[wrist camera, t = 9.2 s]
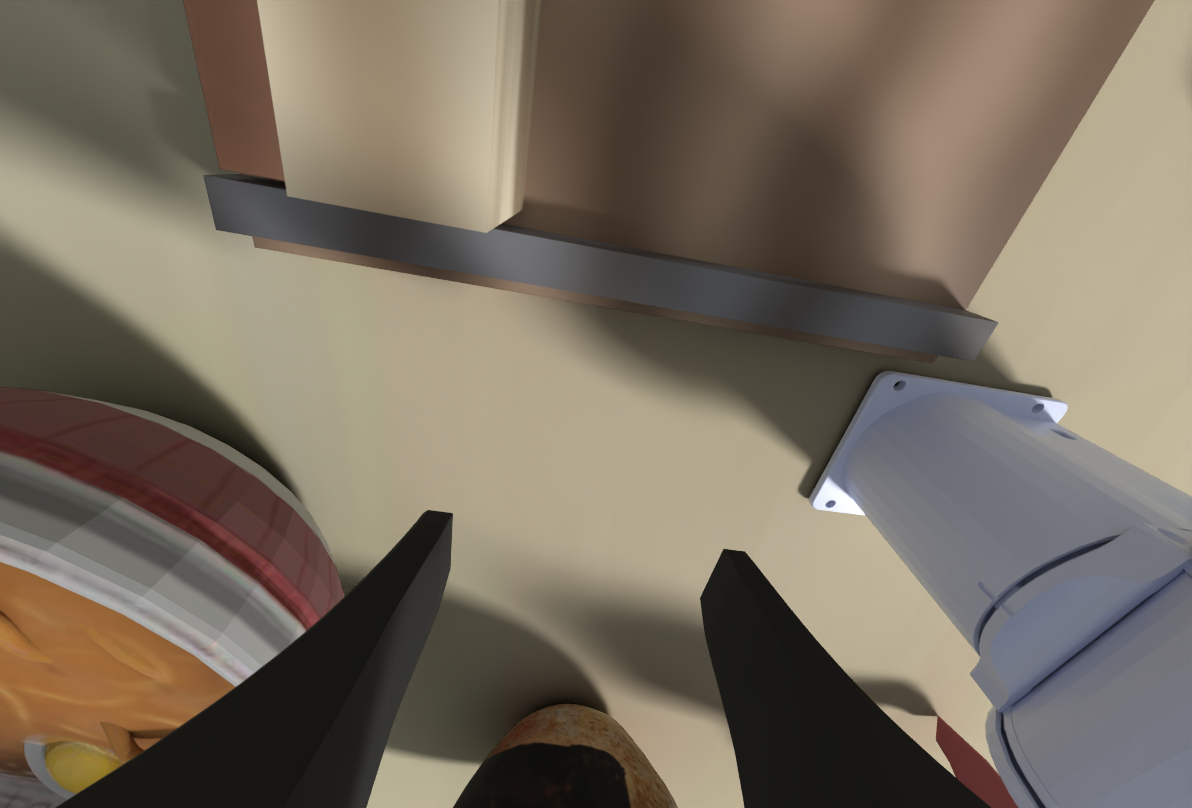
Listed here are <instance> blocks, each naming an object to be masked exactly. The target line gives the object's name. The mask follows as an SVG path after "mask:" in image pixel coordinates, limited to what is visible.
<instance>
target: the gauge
mask: <svg viewBox="0 0 1192 808" xmlns="http://www.w3.org/2000/svg"><path fill="white" fill-rule="evenodd" d="M541 2H542V0H257V4H258V10H259V17H260V23H261V30H262V36H263V43H264V49H265V55H266V62H267V68H268V75H269V81H270V88H271V94H272V101H273V107H274V114H275V120H276V127H277V133H278V140H279V146H280V152H281V159H282V165H283V172H284V178H285V185H286V191H287V196H289V197H294V198H300V199H305V200H311V201H316V202H321V203H327V204H332V205H338V206H343V207H349V208H354V209H359V210H365V211H370V212H376V213H381V214H387V215H392V216H397V217H403V218H408V219H414V220H419V221H425V222H430V223H435V224H441V225H446V226H452V227H457V228H463V229H468V230H473V231H479V232H484V233H487V232H489V231H490V230H492V229H494V228H495V227H497V226H498V225H500V224H501V223H503V222H504V221H506V220H507V219H509V218H511V217H512V216H514V215H515V214H517V213H518V212H520V211H521V210H523V207H524V196H525V184H526V173H527V161H528V150H529V139H530V127H531V116H532V105H533V93H534V82H535V70H536V59H537V48H538V36H539V25H540V14H541Z"/></svg>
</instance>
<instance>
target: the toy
mask: <svg viewBox="0 0 1192 808" xmlns="http://www.w3.org/2000/svg"><path fill="white" fill-rule="evenodd" d="M936 741H937V743H938V744H939V746H940V748H941V749H942V751H943V753H944V754H945V756H946V757H947V759H948V761H949V762H950V764H951V767H952V769H953V772H954V774H955V776H956V778H957V779H958V780H959V781H960V782H961V783H963V784H964V785H965V786H966V787H967V788H969V789H970V790H971V791H972V792H973V793H975V794H976V795H977V796H978V797H979V798H981V799H982V800H983V801H984V802H985V803H987V804H988V805H989V806H990V807H991V808H1018V806H1017V805H1016V803H1015V802H1014V800H1013V799H1012V797H1011V795H1010V794H1009V792H1008V790H1007V788H1006V786H1005V785H1004V783H1003V781H1002V779H1001V777H1000V776H999V774H998V773H997V772H996V771H995V770H994V769H993V767H992V766H991V765H990V764H989V763H988V762H987V760H986V759H984V758H983V757H982V756H981V755H980V754H979V753H978V752H977V751H976V750H975V749H974V748H973V747H971V746H970V745H969V744H968V743H967V742H966V741H965V740H964V739H963V738H962V737H961V736H960V735H958V734H957V733H956V732H955V731H954V730H953V729H952V728H951V727H950V726H949V725H948V724H947V723H946V722H944V721H943V720H942V719H941V718H940V717H939V716H938V719H937V732H936Z"/></svg>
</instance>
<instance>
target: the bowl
mask: <svg viewBox="0 0 1192 808" xmlns="http://www.w3.org/2000/svg"><path fill="white" fill-rule="evenodd" d="M343 598H344V592H343V589H342V585H341V582H340V578H339V575H338V571H337V568H336V565H335V563H334V560H333V558H332V555H331V553H330V550H329V547H328V545H327V542H326V540H325V538H324V536H323V535H322V533H321V531H320V529H319V528H318V526H317V524H316V522H315V521H314V519H313V517H312V516H311V515H310V513H309V512H308V511H307V510H306V509H305V507H304V506H303V505H302V504H301V503H300V502H299V500H298V499H297V498H296V497H295V496H294V495H293V493H292V492H291V491H290V490H288V489H287V488H286V487H285V486H284V485H283V484H281V483H280V482H279V481H278V480H277V479H276V478H274V477H273V476H272V475H271V474H270V473H269V472H267V471H266V470H265V469H264V468H263V467H261V466H260V465H258V464H257V463H255V462H253V461H252V460H250V459H249V458H247V457H246V456H244V455H243V454H241V453H240V452H238V451H237V450H235V449H234V448H232V447H231V446H229V445H227V444H225V443H223V442H221V441H219V440H217V439H215V438H213V437H211V436H209V435H207V434H205V433H203V432H201V431H199V430H196V429H194V428H192V427H190V426H188V425H185V424H182V423H180V422H177V421H174V420H171V419H168V418H165V417H162V416H160V415H157V414H154V413H151V412H148V411H145V410H141V409H136V408H132V407H127V406H122V405H118V404H113V403H108V402H104V401H99V400H93V399H87V398H82V397H76V396H70V395H65V394H59V393H53V392H48V391H42V390H36V389H22V388H8V387H0V808H55V807H57V806H58V805H60V804H61V803H63V802H64V801H66V800H68V799H69V798H71V797H72V796H74V795H76V794H77V793H79V792H80V791H82V790H84V789H85V788H87V787H88V786H90V785H91V784H93V783H95V782H96V781H98V780H99V779H101V778H103V777H104V776H106V775H107V774H109V773H111V772H112V771H114V770H115V769H117V768H118V767H120V766H122V765H123V764H125V763H126V762H128V761H129V760H131V759H133V758H134V757H136V756H137V755H139V754H140V753H142V752H143V751H145V750H146V749H148V748H149V747H151V746H152V745H154V744H155V743H157V742H158V741H159V740H161V739H162V738H164V737H165V736H167V735H168V734H170V733H171V732H172V731H174V730H175V729H177V728H178V727H180V726H181V725H183V724H184V723H185V722H187V721H188V720H190V719H191V718H193V717H194V716H196V715H197V714H198V713H200V712H201V711H203V710H204V709H206V708H207V707H209V706H210V705H212V704H213V703H214V702H216V701H217V700H219V699H220V698H221V697H223V696H224V695H225V694H227V693H228V692H229V691H231V690H232V689H234V688H235V687H236V686H238V685H239V684H240V683H242V682H243V681H244V680H246V679H247V678H248V677H249V676H251V675H252V674H253V673H255V672H256V671H257V670H258V669H260V668H261V667H262V666H264V665H265V664H266V663H268V662H269V661H270V660H271V659H273V658H274V657H275V656H277V655H278V654H279V653H280V652H282V651H283V650H284V649H285V648H286V647H288V646H289V645H290V644H291V643H293V642H294V641H295V640H296V639H297V638H299V637H300V636H301V635H302V634H303V633H305V632H306V631H307V630H308V629H309V628H310V627H312V626H313V625H314V624H315V623H316V622H317V621H318V620H320V619H321V618H322V617H323V616H324V615H325V614H326V613H328V612H329V611H330V610H331V609H332V608H333V607H334V606H335V605H336V604H337V603H338V602H339V601H340V600H342V599H343Z"/></svg>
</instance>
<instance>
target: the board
mask: <svg viewBox="0 0 1192 808" xmlns="http://www.w3.org/2000/svg"><path fill="white" fill-rule="evenodd" d="M183 2H184V7H185V11H186V16H187V20H188V25H189V30H190V34H191V39H192V43H193V48H194V53H195V57H196V62H197V66H198V71H199V76H200V80H201V85H202V89H203V94H204V99H205V103H206V108H207V112H208V117H209V122H210V126H211V131H212V135H213V140H214V145H215V149H216V154H217V158H218V163H219V168H220V169H224V170H229V171H234V172H240V174H233V175H203V176H204V180H205V184H206V189H207V193H208V197H209V201H210V206H211V210H212V214H213V218H214V223H215V227H216V230H220V231H226V232H232V233H238V234H243V235H249V236H253V241H254V246H255V247H256V248H262V249H268V250H274V251H280V252H285V253H291V254H297V255H303V256H309V257H315V258H320V259H326V260H332V261H338V262H344V263H350V264H356V265H361V266H367V267H373V268H379V269H385V270H391V271H396V272H402V273H408V274H414V275H420V276H426V277H431V278H437V279H443V280H449V281H455V282H461V283H466V284H472V285H478V286H484V287H490V288H496V289H501V290H507V291H513V292H519V293H525V294H531V295H537V296H542V297H548V298H554V299H560V300H566V301H572V302H577V303H583V304H589V305H595V306H601V307H607V308H612V309H618V310H624V311H630V312H636V313H642V314H647V315H653V316H659V317H665V318H671V319H677V320H682V321H688V322H694V323H700V324H706V325H712V326H718V327H723V328H729V329H735V330H741V331H747V332H753V333H758V334H764V335H770V336H776V337H782V338H788V339H793V340H799V341H805V342H811V343H817V344H823V345H828V346H834V347H840V348H846V349H852V350H858V351H863V352H869V353H875V354H881V355H887V356H893V357H899V358H904V359H910V360H916V361H922V362H928V363H934V361H935V359H936V358H937V356H938V355H940V356H946V357H951V358H957V359H963V360H969V361H974V359H975V358H976V356H977V355H978V353H979V352H980V350H981V349H982V347H983V346H984V344H985V343H986V341H987V340H988V338H989V337H990V335H991V334H992V332H993V331H994V329H995V327H996V326H997V324H998V322H996V321H993V320H990V319H988V318H985V317H982V316H980V315H977V314H974V313H972V312H969V311H966V309H967V307H968V305H969V304H970V302H971V300H972V299H973V297H974V295H975V294H976V292H977V290H978V289H979V287H980V286H981V284H982V282H983V281H984V279H985V277H986V276H987V274H988V272H989V271H990V269H991V268H992V266H993V264H994V263H995V261H996V259H997V258H998V256H999V254H1000V253H1001V251H1002V250H1003V248H1004V246H1005V245H1006V243H1007V241H1008V240H1009V238H1010V236H1011V235H1012V233H1013V231H1014V230H1015V228H1016V227H1017V225H1018V223H1019V222H1020V220H1021V218H1022V217H1023V215H1024V213H1025V212H1026V210H1027V209H1028V207H1029V205H1030V204H1031V202H1032V200H1033V199H1034V197H1035V195H1036V194H1037V192H1038V191H1039V189H1040V187H1041V186H1042V184H1043V182H1044V181H1045V179H1046V177H1047V176H1048V174H1049V173H1050V171H1051V169H1052V168H1053V166H1054V164H1055V163H1056V161H1057V159H1058V158H1059V156H1060V154H1061V153H1062V151H1063V150H1064V148H1065V146H1066V145H1067V143H1068V141H1069V140H1070V138H1071V136H1072V135H1073V133H1074V132H1075V130H1076V128H1077V127H1078V125H1079V123H1080V122H1081V120H1082V118H1083V117H1084V115H1085V114H1086V112H1087V110H1088V109H1089V107H1090V105H1091V104H1092V102H1093V100H1094V99H1095V97H1096V95H1097V94H1098V92H1099V91H1100V89H1101V87H1102V86H1103V84H1104V82H1105V81H1106V79H1107V77H1108V76H1109V74H1110V73H1111V71H1112V69H1113V68H1114V66H1115V64H1116V63H1117V61H1118V59H1119V58H1120V56H1121V55H1122V53H1123V51H1124V50H1125V48H1126V46H1127V45H1128V43H1129V41H1130V40H1131V38H1132V36H1133V35H1134V33H1135V32H1136V30H1137V28H1138V27H1139V25H1140V23H1141V22H1142V20H1143V18H1144V17H1145V15H1146V14H1147V12H1148V10H1149V9H1150V7H1151V5H1152V4H1153V2H1154V0H542V2H541V14H540V25H539V36H538V48H537V59H536V70H535V82H534V93H533V105H532V116H531V127H530V139H529V150H528V161H527V173H526V184H525V196H524V207H523V210H521V211H520V212H518V213H517V214H515V215H514V216H512V217H511V218H509V219H507V220H506V221H504V222H503V223H501V224H500V225H498V226H497V227H495V228H494V229H492V230H490V231H489V232H487V233H484V232H479V231H473V230H468V229H463V228H457V227H452V226H446V225H441V224H435V223H430V222H425V221H419V220H414V219H408V218H403V217H397V216H392V215H387V214H381V213H376V212H370V211H365V210H359V209H354V208H349V207H343V206H338V205H332V204H327V203H321V202H316V201H311V200H305V199H300V198H294V197H289V196H287V191H286V185H285V178H284V172H283V165H282V159H281V152H280V146H279V140H278V133H277V127H276V120H275V114H274V107H273V101H272V94H271V88H270V81H269V75H268V68H267V62H266V55H265V49H264V43H263V36H262V30H261V23H260V17H259V10H258V4H257V0H183Z"/></svg>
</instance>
